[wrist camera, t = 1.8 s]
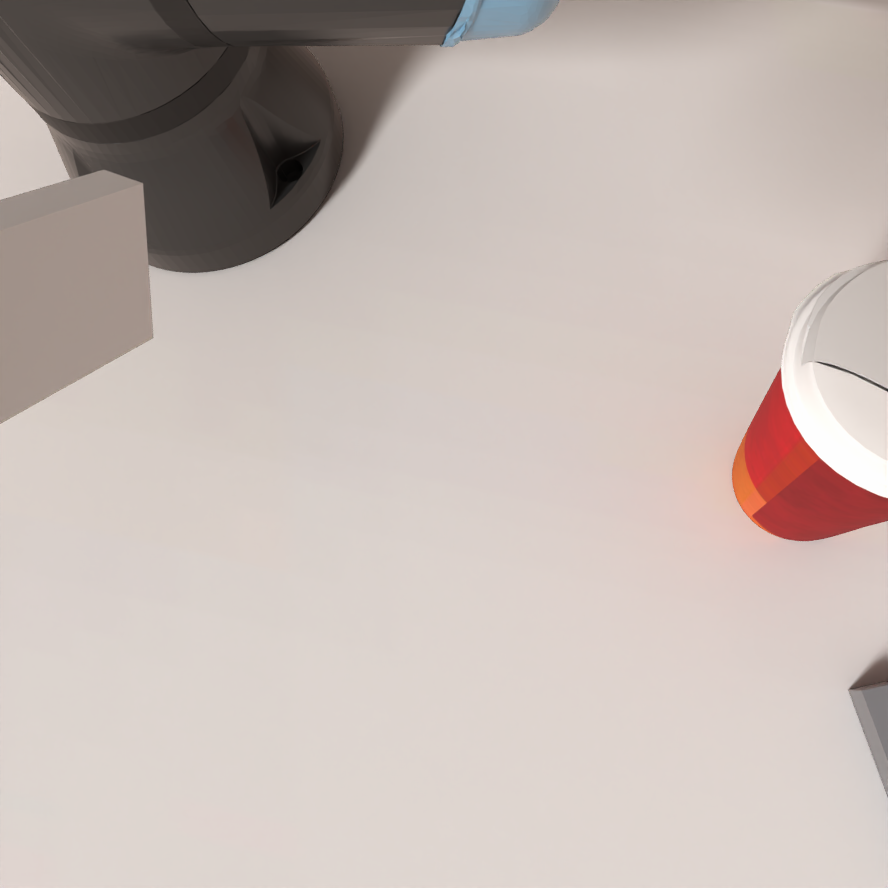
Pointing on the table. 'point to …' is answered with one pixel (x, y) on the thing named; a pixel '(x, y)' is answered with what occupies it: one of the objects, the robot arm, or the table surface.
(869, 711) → the collar board
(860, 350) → the paper cup
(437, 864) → the table surface
